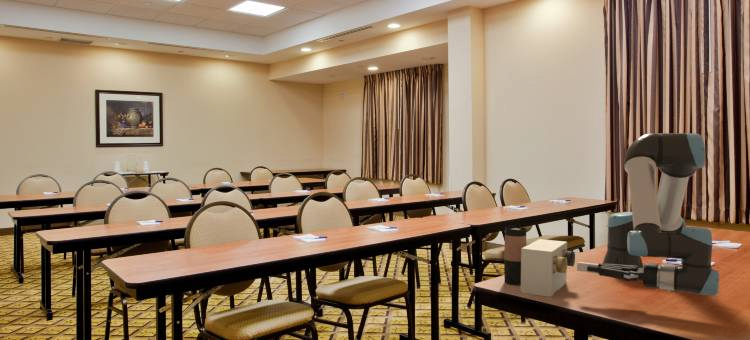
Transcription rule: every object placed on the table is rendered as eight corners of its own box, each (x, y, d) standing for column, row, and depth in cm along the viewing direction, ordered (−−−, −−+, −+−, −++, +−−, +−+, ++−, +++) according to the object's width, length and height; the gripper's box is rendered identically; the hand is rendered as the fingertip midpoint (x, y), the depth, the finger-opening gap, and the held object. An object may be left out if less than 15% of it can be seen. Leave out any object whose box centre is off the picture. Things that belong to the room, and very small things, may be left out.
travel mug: (510, 286, 188) (511, 230, 187) (499, 280, 195) (500, 226, 194) (529, 284, 190) (530, 229, 189) (518, 279, 197) (519, 226, 196)
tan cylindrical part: (574, 264, 189) (575, 250, 189) (571, 267, 185) (572, 252, 185) (537, 260, 196) (537, 246, 196) (533, 262, 192) (533, 248, 192)
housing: (566, 282, 193) (567, 241, 193) (550, 297, 175) (551, 251, 174) (538, 278, 199) (539, 239, 198) (520, 292, 180) (521, 248, 179)
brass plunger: (567, 271, 179) (567, 256, 179) (563, 274, 175) (563, 259, 174) (527, 266, 186) (527, 251, 186) (523, 269, 182) (523, 254, 182)
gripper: (655, 293, 156) (572, 281, 169) (660, 283, 167) (581, 273, 180) (656, 268, 156) (573, 258, 169) (661, 260, 167) (582, 251, 180)
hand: (577, 266), depth 175 cm, fingers closed
